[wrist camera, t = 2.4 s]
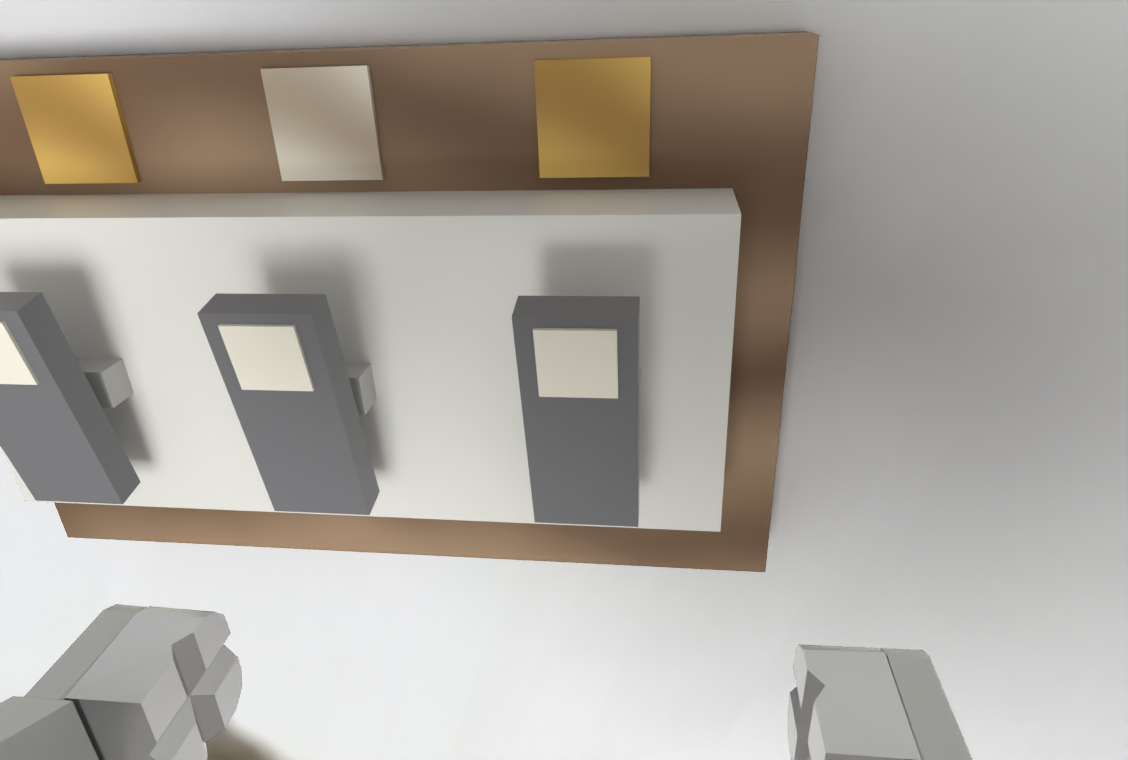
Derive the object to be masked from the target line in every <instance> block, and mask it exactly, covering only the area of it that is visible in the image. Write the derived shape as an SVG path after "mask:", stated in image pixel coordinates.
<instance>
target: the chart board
mask: <svg viewBox="0 0 1128 760" xmlns="http://www.w3.org/2000/svg"><path fill="white" fill-rule="evenodd" d="M818 40H819V35H818V34H814V33H810V32H783V33H754V34H725V35H695V36H666V37H637V38H607V39H578V40H549V41H520V42H490V43H461V44H432V45H403V46H373V47H344V48H315V49H286V50H256V51H227V52H198V53H169V54H139V55H110V56H81V57H52V58H22V59H0V196H5V195H105V194H206V193H306V192H407V191H507V190H608V189H708V188H733V191H734V194H735V197H736V200H737V203H738V206H739V209H740V212H741V227H740V242H739V257H738V273H737V288H736V303H735V318H734V333H733V349H732V364H731V379H730V394H729V409H728V425H727V440H726V455H725V470H724V485H723V501H722V516H721V531H720V532H714V531H691V530H669V529H646V528H623V527H601V526H578V525H555V524H533V523H510V522H488V521H465V520H442V519H420V518H397V517H374V516H352V515H329V514H306V513H284V512H261V511H238V510H216V509H193V508H170V507H148V506H125V505H102V504H80V503H57V502H54V503H55V505H56V508H57V510H58V513H59V516H60V518H61V521H62V523H63V526H64V528H65V531H66V533H67V536H68V537H75V538H95V539H115V540H135V541H155V542H175V543H195V544H215V545H235V546H255V547H275V548H294V549H314V550H334V551H354V552H374V553H394V554H414V555H434V556H454V557H474V558H494V559H514V560H534V561H554V562H574V563H594V564H613V565H633V566H653V567H673V568H693V569H713V570H733V571H753V572H765V569H766V559H767V549H768V539H769V529H770V519H771V509H772V499H773V489H774V479H775V469H776V459H777V449H778V439H779V429H780V419H781V409H782V399H783V389H784V379H785V369H786V359H787V349H788V339H789V329H790V319H791V309H792V299H793V289H794V279H795V269H796V259H797V250H798V240H799V230H800V220H801V210H802V200H803V190H804V180H805V170H806V160H807V150H808V140H809V130H810V120H811V110H812V100H813V90H814V80H815V70H816V60H817V50H818Z"/></svg>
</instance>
